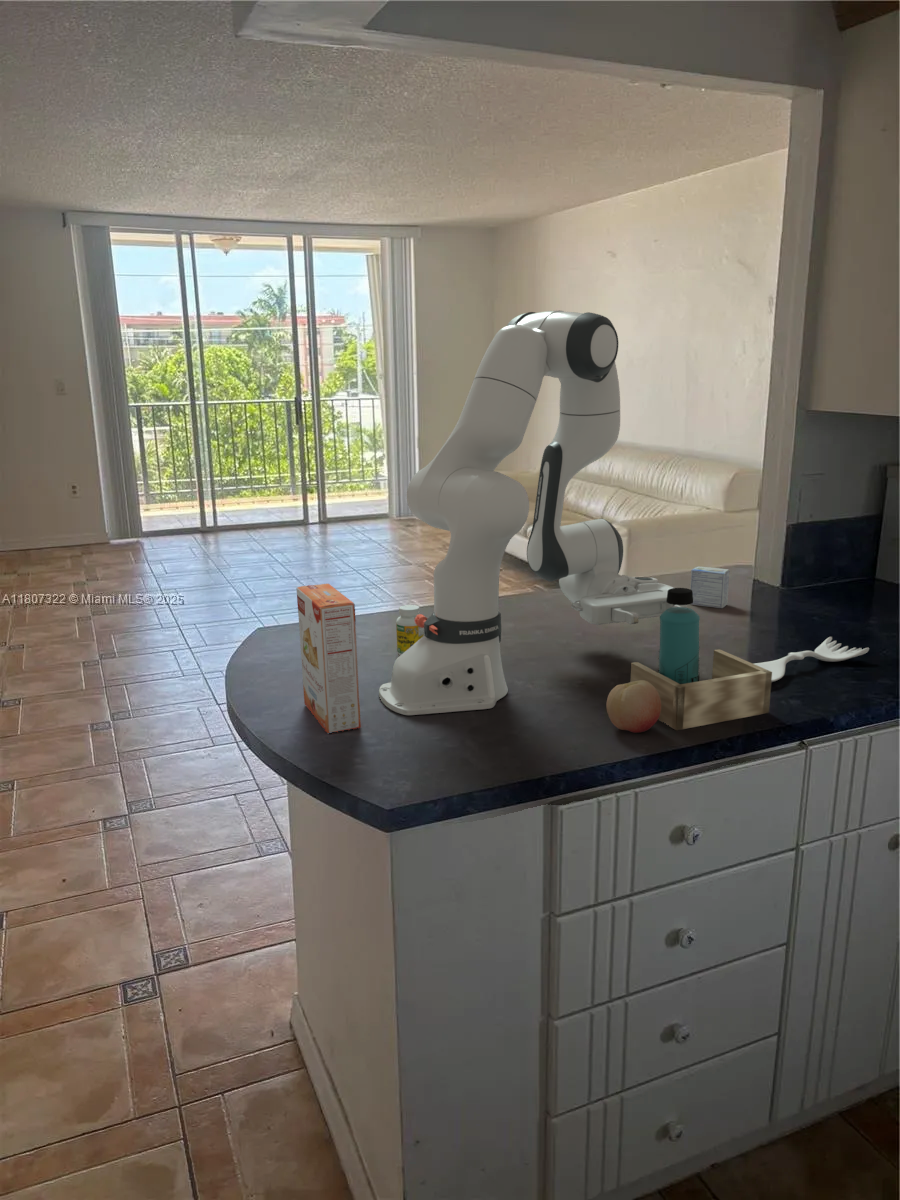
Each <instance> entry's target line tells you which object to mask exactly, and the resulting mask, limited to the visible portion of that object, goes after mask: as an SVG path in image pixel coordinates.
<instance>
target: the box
mask: <svg viewBox="0 0 900 1200" xmlns="http://www.w3.org/2000/svg"><path fill="white" fill-rule="evenodd" d="M712 658H713V659H712V673H711V679H706V680H699V681H698V682H692V683H686V684H679V683H677V682H675V681H673V680H671V679H669V678H667V677H665V676H663V675H661V674H660V673H658V671H656V670H654V669H652V668H650V667H648V666H646V665H644V664H642V663H640V662H638V661H637V662H635V661H634V662H631V663H630V665H631V667H630V682H634V681H639V680H644V681H647V682H649V683H650V684H652V685H653V686H654V687H655V689H656V690H657V692H658V694H659V696H660V699H661V712H660V716H659V718H658V719H659V720H658V721H659V722H661V723H663V722H664V724H665V723H666V724H665V725H667V726H668V725H669V726H668V727H670V728H672V729H674V730H675V731H682V730H686V729H690V728H696V727H700V726H701V727H702V726H706V725H712V724H718V723H722V722H728V721H733V720H738V719H743V718H748V717H754V716H759V715H764V714H769V713H770V703H771V690H772V682H771V680H772V672H771V671H769V670H766V669H764V668H762V667H759V666H757V665H755V663H752V662H750V661H748V660H745V659H743V658H741V657H739V656H736V655H734V654H732V653H729V652H727V651H724V650H722V649H714V650H713V657H712Z"/></svg>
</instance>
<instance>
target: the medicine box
mask: <svg viewBox="0 0 900 1200" xmlns="http://www.w3.org/2000/svg"><path fill="white" fill-rule="evenodd" d="M690 572H691V573H690V587H689V589H691V590H692V592H693V603H692V604H690V605H692V606H700V607H708V608H716V609H724V608H725V607H726V606H727V605H728V602H729V601H728V598H729V584H730V583H729V582H730V569H727V568H719V567H709V566H708V567H707V566H696V567H694V568H692V569H691V571H690Z"/></svg>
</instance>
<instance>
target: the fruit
mask: <svg viewBox="0 0 900 1200" xmlns="http://www.w3.org/2000/svg"><path fill="white" fill-rule="evenodd" d="M605 704H606V713H607V715H608V718H609V719H610V722H611V723H612V724H613V725H614V727H616V728H617V729H619V730H621V731H628V732H631V733H635V734H636V733H644V732H646V731H648V730H650V729H651V728H652V727H654V725H656V724H657V722H658V721H659V720H658V718H659V716H660V712H661V699H660V696H659V694H658V692H657V690H656V689H655V687H654V686H653V685H652V684H650V683H649V682H647V681H644V680H639V681H634V682H631V681H630V682H626V683H622V684H621V683H620V684H617V685H616V686H614V687H613V688H612V689H611V690H610V692H609V693H608V695H607V700H606V703H605Z"/></svg>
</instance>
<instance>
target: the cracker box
mask: <svg viewBox="0 0 900 1200" xmlns="http://www.w3.org/2000/svg"><path fill="white" fill-rule="evenodd" d="M296 601H297V613H298V627H299V631H298V632H299V643H300V655H301V656H300V659H301V671H302V673H301V674H302V683H303V684H302V686H303V689H302V690H303V699H304V702H303V703H304V705H305V706H306V708H307V709H308V710H309V712H310V711H311V712H310V713H311V714H312V716H313V715H314V716H313V717H314V718H315V719H316V721H317V720H318V721H317V722H318V724H319V725H320V726H321V727H322V729H323V728H324V729H325V730H324V729H323V730H324V732H325V733H326V732H327V733H330V732H337V733H339V732H338V731H342V732H345V731H344V730H348V731H351V730H350V729H353V730H358V729H362V723H361V722H362V721H361V708H360V707H361V706H360V687H359V686H360V685H359V666H358V665H359V662H358V645H357V644H358V643H357V624H356V623H357V622H356V621H357V620H356V605H355V602H354V601H352V600H350V598H348V597H347V596H346V595H344V594H343V593H342V592H341V591H339V590H338V589H336V588H335V587H334V586H332V584H330V583H320V584H309V585H302V586H298V587H296ZM357 728H358V729H357ZM327 733H326V734H327Z"/></svg>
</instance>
